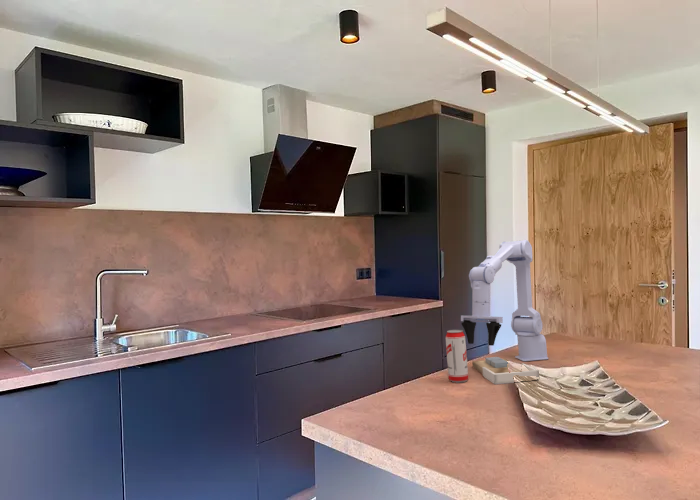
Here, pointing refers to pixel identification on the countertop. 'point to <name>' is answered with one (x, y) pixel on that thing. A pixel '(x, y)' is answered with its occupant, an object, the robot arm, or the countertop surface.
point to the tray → (508, 375)
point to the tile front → (498, 363)
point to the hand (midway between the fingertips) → (480, 344)
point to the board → (488, 367)
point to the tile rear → (492, 359)
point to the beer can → (456, 356)
